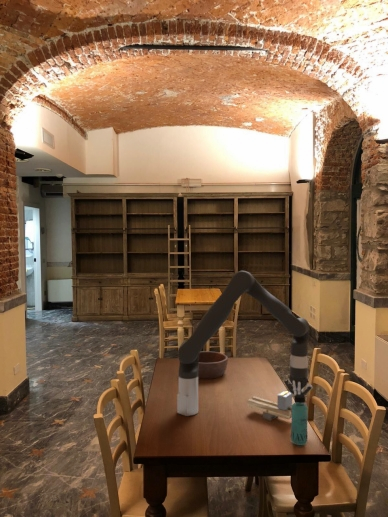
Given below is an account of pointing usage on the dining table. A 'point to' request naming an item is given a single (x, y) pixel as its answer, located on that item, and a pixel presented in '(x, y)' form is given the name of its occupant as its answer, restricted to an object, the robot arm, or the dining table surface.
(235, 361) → the dining table surface
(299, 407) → the beverage bottle
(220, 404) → the dining table surface
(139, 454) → the dining table surface
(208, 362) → the wooden bowl
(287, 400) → the block
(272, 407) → the beam
